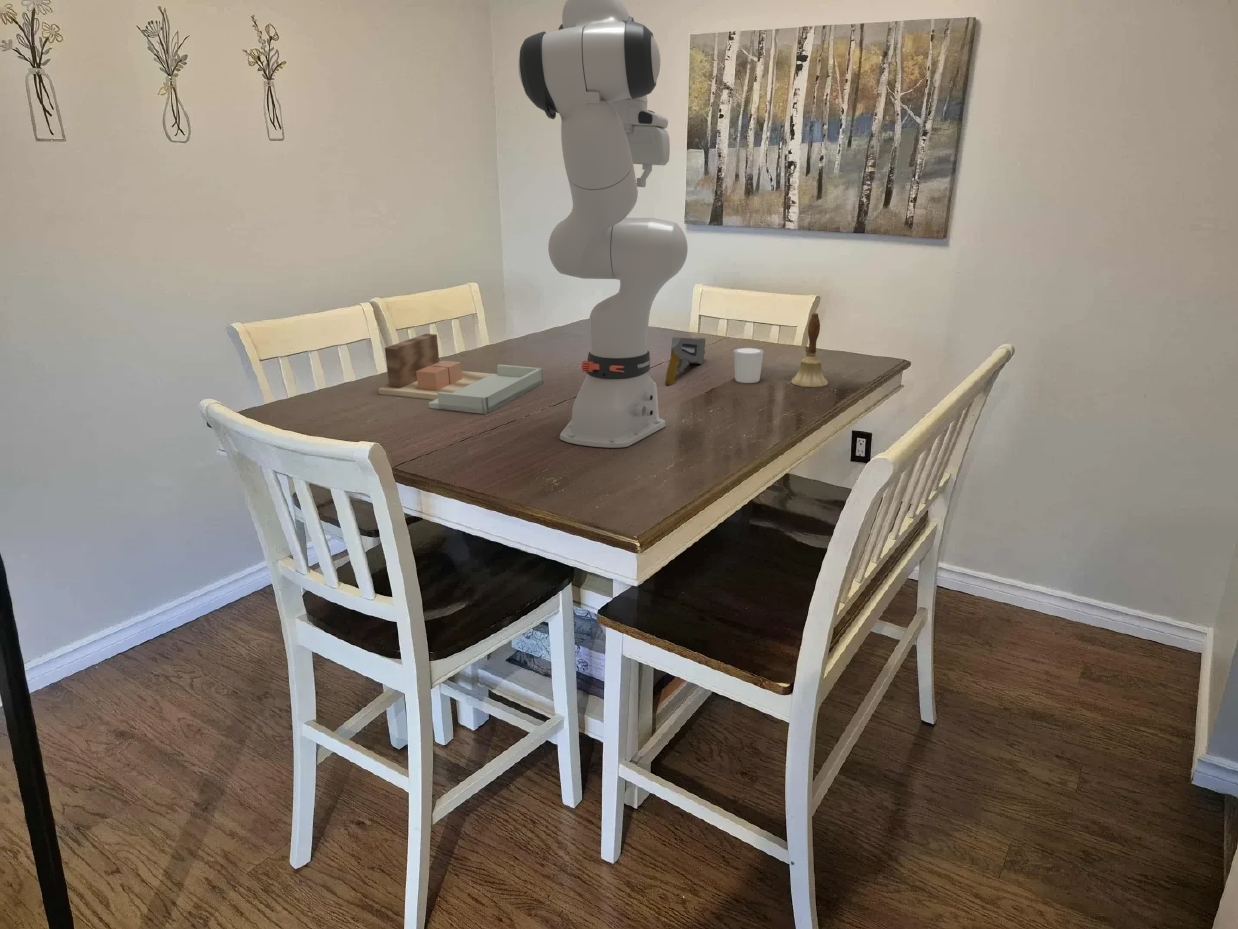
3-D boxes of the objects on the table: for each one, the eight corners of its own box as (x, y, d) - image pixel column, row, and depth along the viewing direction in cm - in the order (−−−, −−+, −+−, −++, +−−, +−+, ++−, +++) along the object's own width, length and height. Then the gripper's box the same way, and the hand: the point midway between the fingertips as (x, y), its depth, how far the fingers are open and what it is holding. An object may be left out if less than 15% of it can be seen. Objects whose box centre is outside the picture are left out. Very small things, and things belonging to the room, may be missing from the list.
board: (445, 401, 181) (444, 395, 180) (378, 393, 187) (378, 388, 186) (491, 378, 198) (491, 373, 198) (429, 372, 204) (429, 367, 204)
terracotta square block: (450, 384, 189) (449, 367, 188) (431, 382, 191) (430, 365, 189) (462, 379, 193) (460, 362, 192) (444, 377, 195) (442, 360, 194)
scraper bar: (400, 388, 187) (395, 348, 183) (389, 387, 188) (384, 347, 184) (440, 371, 200) (436, 334, 197) (429, 370, 201) (426, 333, 198)
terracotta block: (436, 390, 184) (435, 372, 183) (417, 388, 186) (416, 371, 185) (449, 384, 189) (447, 367, 187) (430, 383, 190) (429, 366, 189)
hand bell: (831, 380, 192) (836, 311, 187) (823, 389, 185) (829, 317, 180) (795, 377, 196) (799, 309, 190) (787, 385, 189) (791, 315, 183)
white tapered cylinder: (763, 377, 196) (765, 347, 193) (760, 384, 190) (761, 354, 187) (734, 375, 198) (735, 346, 195) (730, 382, 191) (731, 352, 189)
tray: (486, 414, 171) (485, 397, 170) (428, 407, 176) (427, 391, 175) (543, 382, 194) (542, 368, 192) (491, 377, 199) (490, 363, 197)
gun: (701, 397, 212) (708, 339, 211) (672, 384, 188) (681, 319, 188) (689, 396, 213) (696, 338, 213) (659, 383, 190) (667, 318, 189)
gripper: (574, 113, 176) (571, 181, 180) (664, 116, 169) (658, 187, 173) (587, 117, 182) (583, 183, 186) (675, 120, 175) (669, 189, 179)
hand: (620, 185), depth 179 cm, fingers open, 8 cm apart
